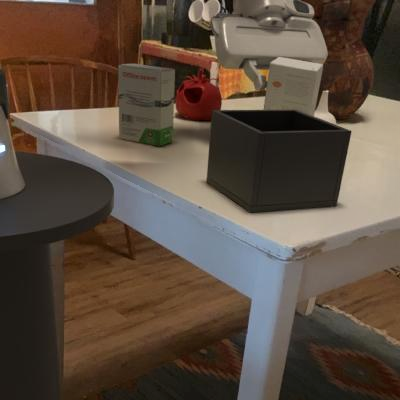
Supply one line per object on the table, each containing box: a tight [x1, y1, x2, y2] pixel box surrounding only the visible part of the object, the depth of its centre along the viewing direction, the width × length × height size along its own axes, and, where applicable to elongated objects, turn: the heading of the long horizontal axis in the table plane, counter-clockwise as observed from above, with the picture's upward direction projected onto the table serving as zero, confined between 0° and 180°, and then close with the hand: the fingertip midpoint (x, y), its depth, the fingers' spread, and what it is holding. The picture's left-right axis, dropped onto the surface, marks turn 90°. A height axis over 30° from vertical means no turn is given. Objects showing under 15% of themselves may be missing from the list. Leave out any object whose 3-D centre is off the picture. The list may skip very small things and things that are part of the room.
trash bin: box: [205, 109, 353, 214], centre depth 83 cm, size 14×14×10 cm
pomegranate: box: [174, 68, 223, 121], centre depth 124 cm, size 10×10×9 cm
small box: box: [262, 57, 323, 116], centre depth 102 cm, size 8×6×10 cm
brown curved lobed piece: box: [300, 0, 377, 120], centre depth 134 cm, size 22×21×25 cm
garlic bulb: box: [314, 90, 337, 125], centre depth 121 cm, size 6×6×8 cm
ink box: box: [118, 63, 176, 147], centre depth 104 cm, size 9×5×12 cm, turn 62°
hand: (282, 88), depth 102 cm, fingers closed on small box, 7 cm apart
